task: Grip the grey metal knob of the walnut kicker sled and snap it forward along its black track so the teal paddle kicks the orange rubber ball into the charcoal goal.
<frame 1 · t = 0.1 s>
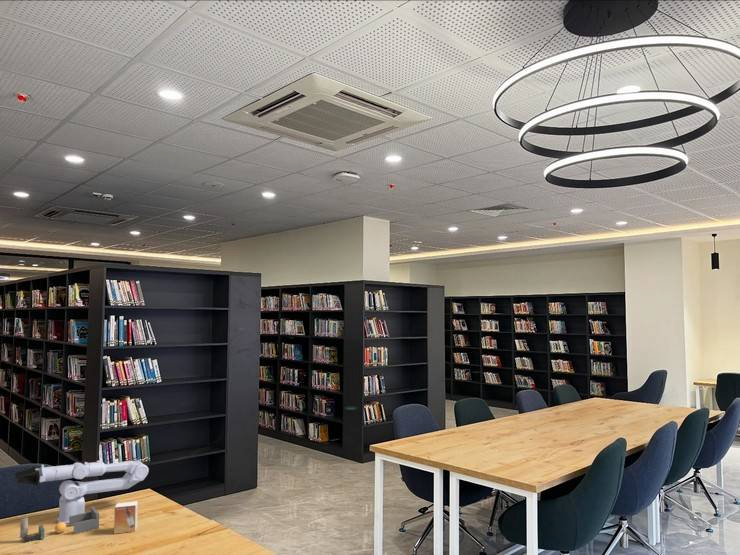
hand: (16, 477, 223), 22 cm above the table, tool horizontal, fingers open, 7 cm apart
kicker: (32, 527, 214), point 5 cm above the table, slide at 0.0 cm
track: (31, 539, 214), on the table
ball: (60, 527, 220), point 2 cm above the table
goal: (84, 527, 225), on the table
small box: (125, 531, 221), on the table
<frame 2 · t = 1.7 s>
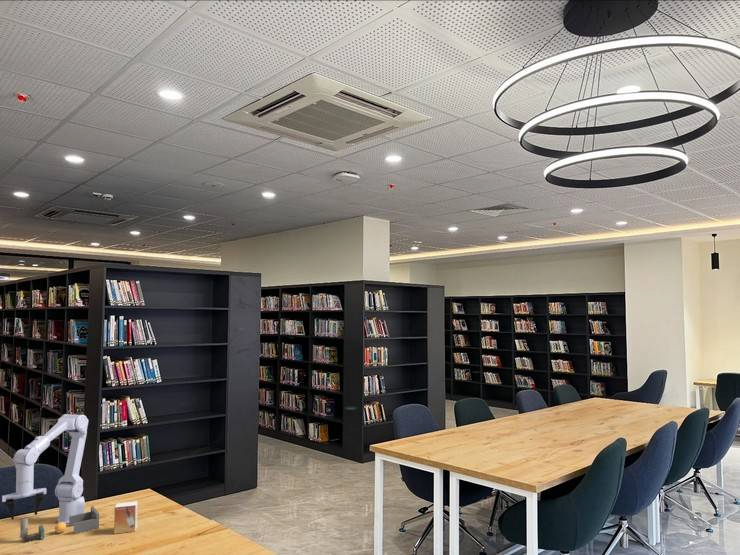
hand: (24, 516, 213), 9 cm above the table, tool pointing down, fingers open, 7 cm apart
nothing on the table moved.
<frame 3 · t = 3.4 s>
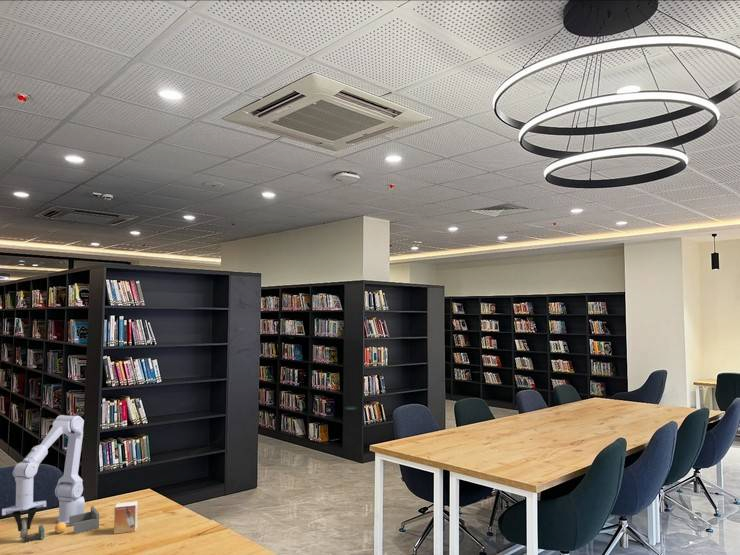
hand: (24, 529, 212), 4 cm above the table, tool pointing down, fingers closed on kicker, 2 cm apart
kicker: (32, 527, 214), point 4 cm above the table, slide at 0.0 cm, touching gripper
everything else where it was.
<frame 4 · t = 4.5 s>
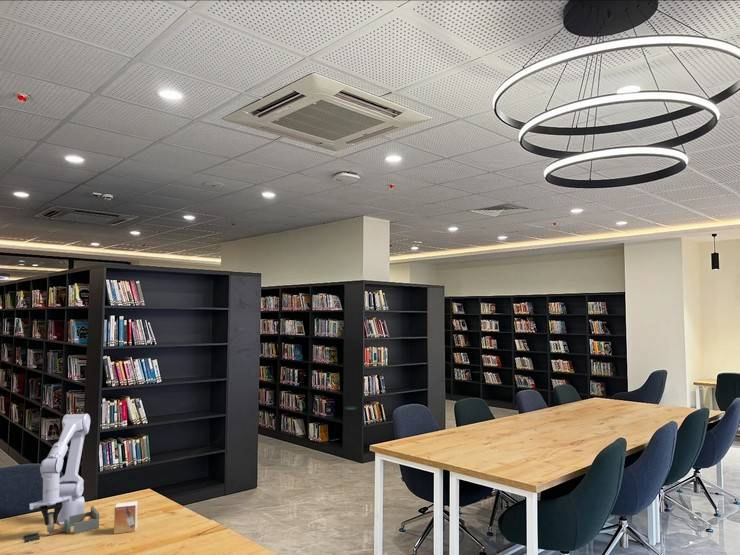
hand: (50, 523, 218), 4 cm above the table, tool pointing down, fingers closed on kicker, 2 cm apart
kicker: (58, 521, 220), point 5 cm above the table, slide at 9.0 cm, touching gripper
ball: (87, 521, 226), point 2 cm above the table, tilted 87°
everything else where it was.
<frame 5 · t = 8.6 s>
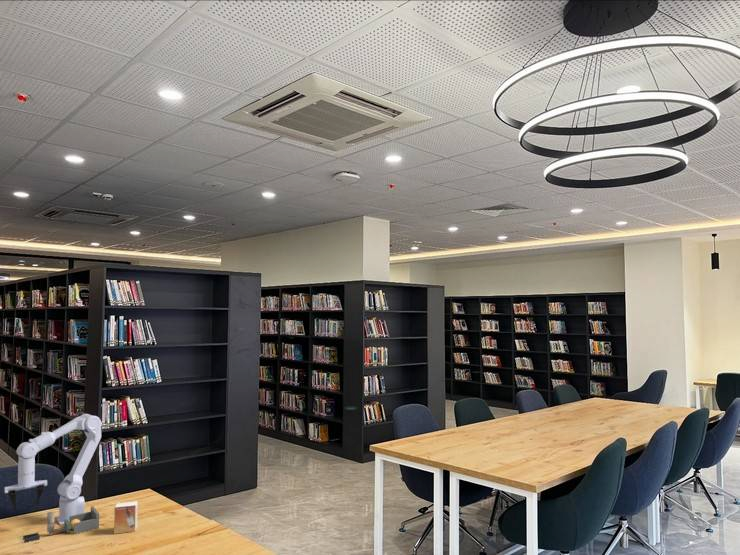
hand: (25, 507, 222), 10 cm above the table, tool pointing down, fingers open, 7 cm apart
kicker: (58, 521, 220), point 4 cm above the table, slide at 9.0 cm
ball: (75, 524, 223), point 2 cm above the table, tilted 142°
everything else where it was.
at the end: ball inside the target area on the goal (3.3 cm from its centre), point 2.0 cm above the goal's base; kicker slide at 9.0 cm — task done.
